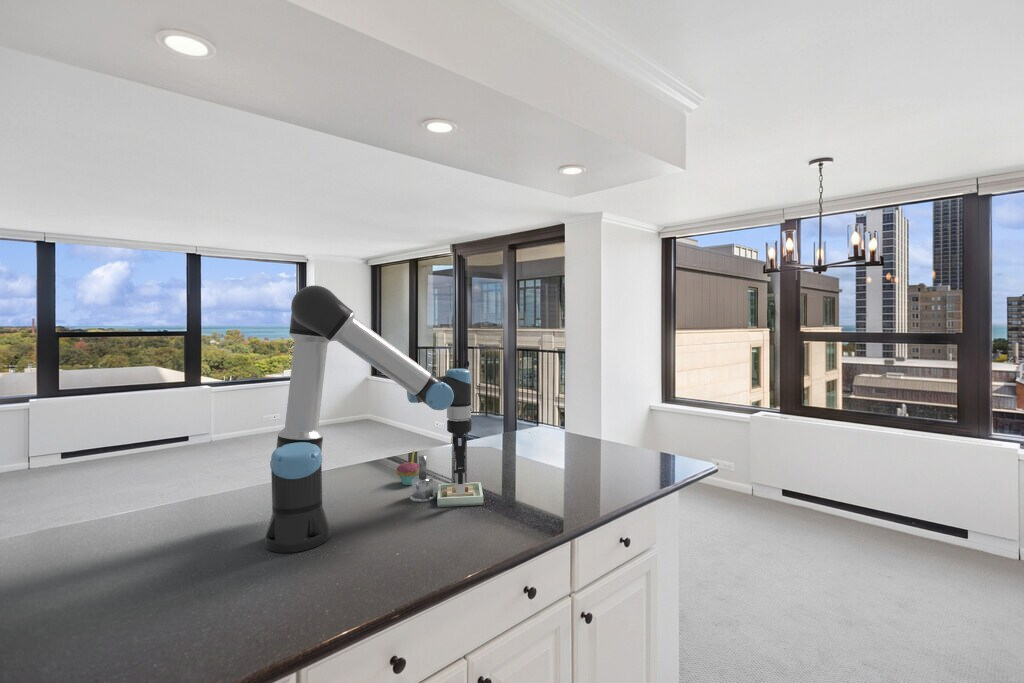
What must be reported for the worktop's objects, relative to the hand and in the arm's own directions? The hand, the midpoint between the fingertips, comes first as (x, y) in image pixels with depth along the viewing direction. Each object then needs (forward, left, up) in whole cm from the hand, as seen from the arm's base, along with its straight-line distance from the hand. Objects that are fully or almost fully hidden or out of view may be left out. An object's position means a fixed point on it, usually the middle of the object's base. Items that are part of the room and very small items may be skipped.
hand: (460, 486), depth 157 cm
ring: (0, 0, -3) cm, 3 cm away
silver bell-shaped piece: (+2, +12, -4) cm, 12 cm away
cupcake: (+17, +17, -4) cm, 24 cm away
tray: (0, 0, -4) cm, 4 cm away
